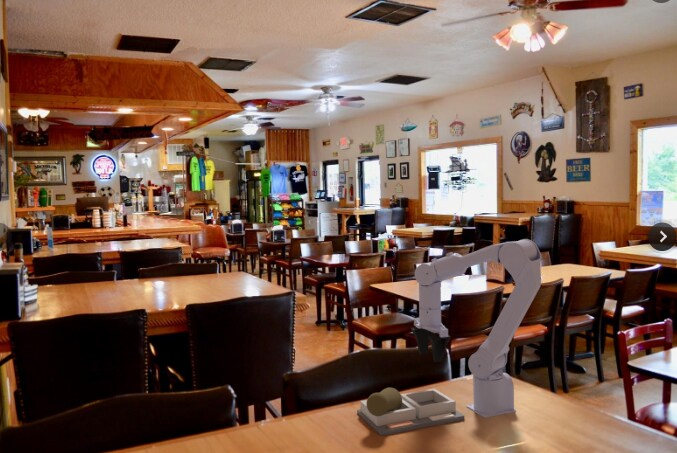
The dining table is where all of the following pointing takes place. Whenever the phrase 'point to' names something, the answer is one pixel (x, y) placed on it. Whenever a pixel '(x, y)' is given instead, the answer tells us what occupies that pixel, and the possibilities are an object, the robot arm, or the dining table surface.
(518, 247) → the robot arm
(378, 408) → the cork
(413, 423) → the caddy
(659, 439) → the dining table surface
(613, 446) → the dining table surface
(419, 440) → the dining table surface
